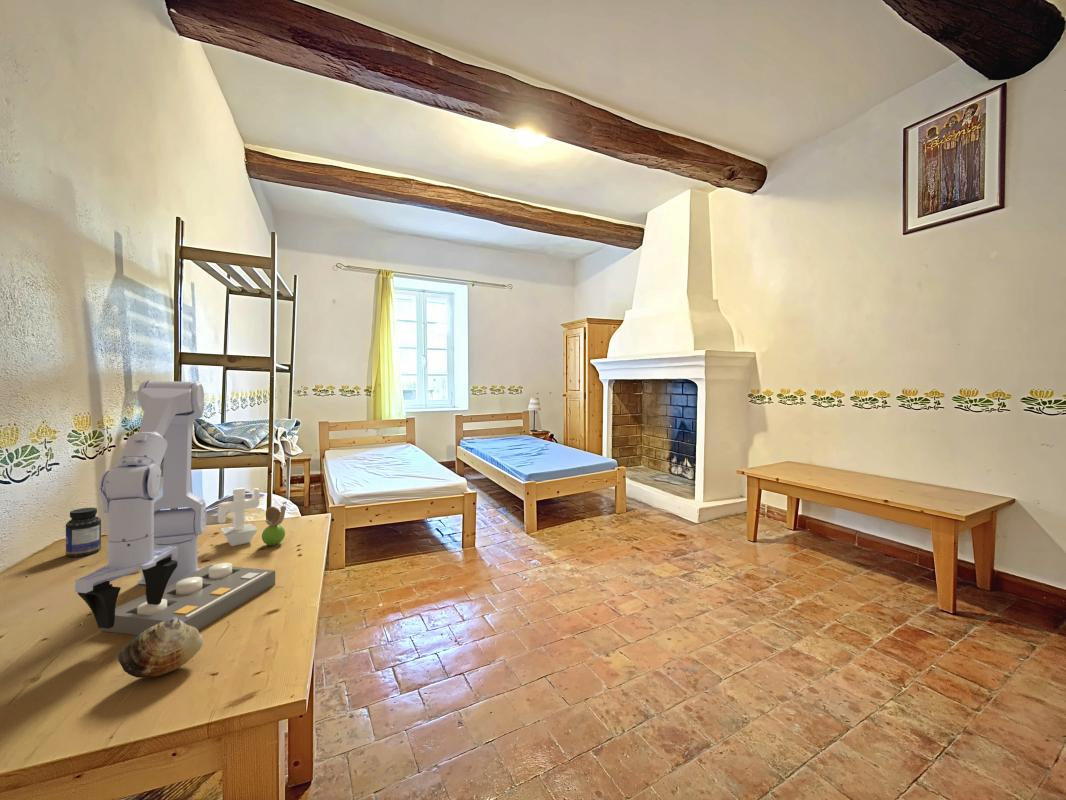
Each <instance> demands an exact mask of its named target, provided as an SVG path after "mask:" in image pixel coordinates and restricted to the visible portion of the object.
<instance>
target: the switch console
mask: <svg viewBox="0 0 1066 800" xmlns="http://www.w3.org/2000/svg"><path fill="white" fill-rule="evenodd" d="M213 565H214V564H209V565H207V566H205V567H202V568H199V569H200V570H198V571H196V572H194V573H191V574H189V575H187V576H185V577H182V578H180V579H178V580H176V581H174V582H171V583H169V584H167V585H166V588H165V591H164V594H163V597H162V599H166V600H167V607H166V608H164V609H162V610H160V611H158V612H156V613H154V614H152V615H141V614H137V607H138V606H139V605H141V604H142V603H145V602H147V599H146V593H145V594H143V595H140V596H138V597H136V598H134V599H132V600H129V601H128V602H125V603H122V604H121V605H118V606H115V622H114V626H113V627H111V628H109V629H105V628H101V632H108V633H117V634H123V635H124V634H126V635H133V636H138V635H139V634H141V633H142V632H144V631H145V630H147V629H148V628H150V627H152V626H154V625H156V624H158V623H161V622H163V621H165V620H167V619H169V618H173V617H177V618H178V619H180V620H181V621H182V622H184V623H185V624H187V625H189V626H192V627H195V628H196V629H197V630H198V631H201V630H202V629H204V628H205V627H207V626H208V625H210V624H211V623H214V622H215V621H216V620H219V619H220V618H221V617H223V616H225V615H226V614H228V613H230V612H231V611H234V609H236V608H238V607H240V606H241V605H243V604H245V603H246V602H248V601H249V600H251V599H253V598H255V597H256V596H259V594H261V593H262V592H263V593H264V592H265V591H266V590H268V589H269V588H271V587H273V586H274V585H276V570H275V569H264V568H251V567H239V566H238V567H237V566H232V574H231V575H229V576H227V577H225V578H223V579H221V580H218V579H209V568H210V567H211V566H213ZM190 577H201V578H202V589H201V590H199V591H197V592H196V593H194V594H192V595H190V596H183V595H176V583H177V582H179V581H181V580H183V579H186V578H190Z"/></svg>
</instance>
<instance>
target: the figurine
mask: <svg viewBox="0 0 1066 800" xmlns="http://www.w3.org/2000/svg"><path fill="white" fill-rule="evenodd" d="M260 494H261V493H260V489H259V488H258V487H254V488H253V489H252V496H251V498H246V497H245V496H246V488H245V487H237V488H233V489H232V496H233V500H231V501H225V502H224V501H223V502H221V503H219V504H218V507H217V521H218V522H217V523H219V524H224V523H225V522H226V515H227V513H231V512H232V513H233V526H228V527H227V526H226V527H223V528H222V527H221V528H220V530H221V532H222V533H223V535H224V537H225V539H226V541H227V543H228V544H229V545H230V547H234V546H238V545H239V546H240V545H244V544H249V543H251V541H252V540H253V538H254V536H255V535H256V534H257V533H256V532H258V528H257V527H256V526H255V525H254V524H253V522H252V523H246V522H245V519H246V516H245V515H246V510H252V509H255V508H258V507H259V505H260Z"/></svg>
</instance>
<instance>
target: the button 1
mask: <svg viewBox="0 0 1066 800" xmlns="http://www.w3.org/2000/svg"><path fill="white" fill-rule="evenodd" d="M166 607H167V600H166V599H162V600H161V603H160V604H158V605H154V604H147V602H145V603H142V604H141V605H139V606H138V607H137V614H141V615H152V614H154V613H156V612H158V611H160V610H162V609H164V608H166Z"/></svg>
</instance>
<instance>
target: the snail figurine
mask: <svg viewBox="0 0 1066 800" xmlns="http://www.w3.org/2000/svg"><path fill="white" fill-rule="evenodd" d="M286 504H287V501H283V502H282V506H281V507H280V509H279V508H278V507H276V506H269V507H267V509H266V511H265V518H266V519H267V520H265V523H266V525H268V526H266V527H265V529H264V530H263V531H262V533H261V539H262V541H263V543H264V544H265V545H268V546H276V545H278V544H280V543H281V542H282V541H284V539H285V536H286V530H285V528H284V526H282V525H280V524H282V523H283V521H284V519H285V514H286V509H287V507H286Z"/></svg>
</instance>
